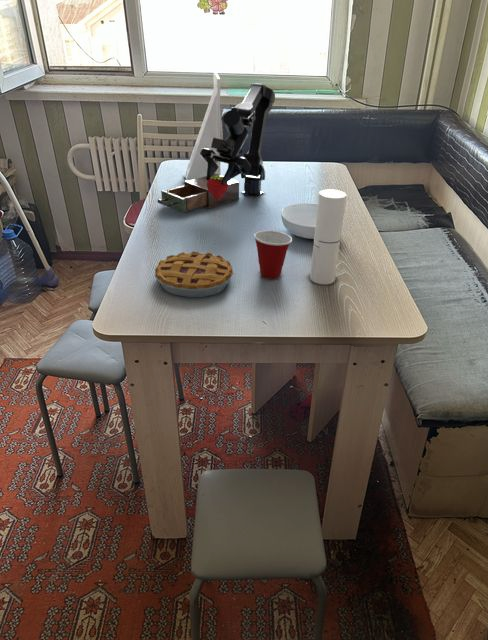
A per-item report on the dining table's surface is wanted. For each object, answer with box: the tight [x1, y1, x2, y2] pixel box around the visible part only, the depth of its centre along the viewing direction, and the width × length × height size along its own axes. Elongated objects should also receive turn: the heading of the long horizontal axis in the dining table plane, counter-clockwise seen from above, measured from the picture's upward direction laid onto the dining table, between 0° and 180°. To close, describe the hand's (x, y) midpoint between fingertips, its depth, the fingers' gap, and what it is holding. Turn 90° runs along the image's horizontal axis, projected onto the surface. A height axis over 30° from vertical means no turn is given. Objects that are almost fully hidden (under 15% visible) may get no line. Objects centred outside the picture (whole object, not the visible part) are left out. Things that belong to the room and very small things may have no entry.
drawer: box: [157, 184, 208, 214], centre depth 194 cm, size 20×12×5 cm, turn 138°
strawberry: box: [207, 171, 228, 200], centre depth 182 cm, size 6×8×10 cm
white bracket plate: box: [183, 70, 221, 182], centre depth 211 cm, size 20×14×40 cm
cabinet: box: [184, 174, 240, 209], centre depth 202 cm, size 16×13×7 cm
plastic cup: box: [253, 230, 293, 280], centre depth 151 cm, size 11×11×12 cm
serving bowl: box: [280, 202, 318, 240], centre depth 179 cm, size 21×21×7 cm
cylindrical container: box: [309, 188, 347, 285], centre depth 146 cm, size 7×7×25 cm
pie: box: [154, 251, 235, 298], centre depth 147 cm, size 22×22×5 cm
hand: (214, 182), depth 180 cm, fingers closed on strawberry, 6 cm apart
